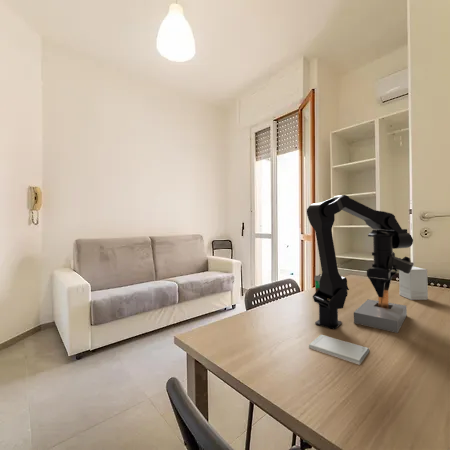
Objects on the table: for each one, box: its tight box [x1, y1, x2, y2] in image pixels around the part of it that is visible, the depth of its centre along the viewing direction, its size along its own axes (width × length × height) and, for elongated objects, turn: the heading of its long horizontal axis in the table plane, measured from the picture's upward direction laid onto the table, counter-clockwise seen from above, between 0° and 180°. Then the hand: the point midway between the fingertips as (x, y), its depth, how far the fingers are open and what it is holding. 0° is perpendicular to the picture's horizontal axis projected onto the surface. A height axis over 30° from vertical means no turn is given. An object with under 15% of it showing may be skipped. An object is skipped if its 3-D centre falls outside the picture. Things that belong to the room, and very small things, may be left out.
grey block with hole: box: [353, 299, 408, 334], centre depth 87 cm, size 18×12×4 cm, turn 138°
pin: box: [377, 289, 390, 309], centre depth 90 cm, size 3×3×9 cm
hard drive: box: [308, 334, 370, 366], centre depth 67 cm, size 2×8×12 cm
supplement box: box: [398, 266, 429, 301], centre depth 110 cm, size 7×7×13 cm
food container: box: [314, 273, 322, 293], centre depth 114 cm, size 12×6×10 cm, turn 143°
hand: (383, 294), depth 90 cm, fingers open, 9 cm apart
